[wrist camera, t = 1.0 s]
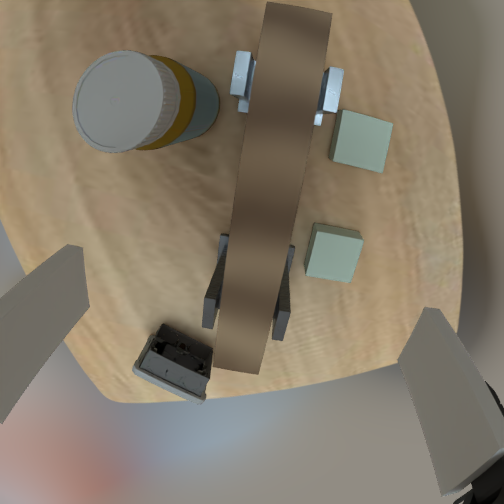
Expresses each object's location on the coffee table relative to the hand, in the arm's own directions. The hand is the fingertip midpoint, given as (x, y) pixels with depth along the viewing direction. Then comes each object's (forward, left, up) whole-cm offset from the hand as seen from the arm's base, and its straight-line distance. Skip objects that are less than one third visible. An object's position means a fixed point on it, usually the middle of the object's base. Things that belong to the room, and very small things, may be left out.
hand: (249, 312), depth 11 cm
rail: (0, 0, -14) cm, 14 cm away
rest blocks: (0, +8, -22) cm, 23 cm away
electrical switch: (+23, -8, -22) cm, 33 cm away
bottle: (-7, -9, -22) cm, 25 cm away
